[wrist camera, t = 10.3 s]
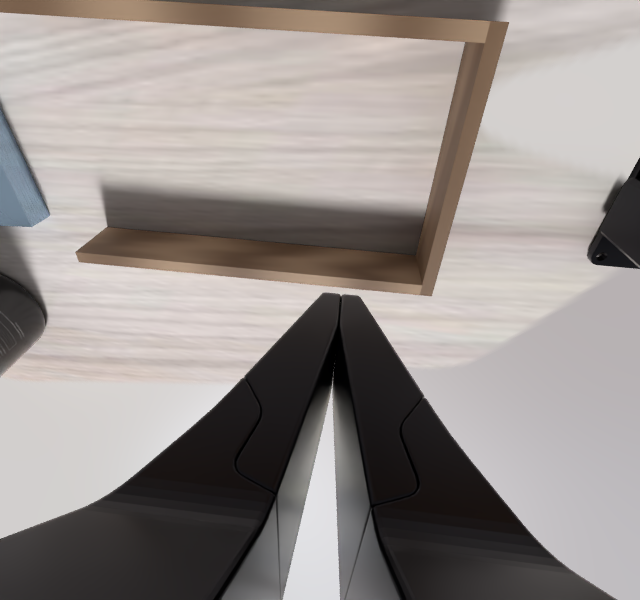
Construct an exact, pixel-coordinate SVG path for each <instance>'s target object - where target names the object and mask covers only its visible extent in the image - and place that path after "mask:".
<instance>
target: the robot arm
mask: <svg viewBox="0 0 640 600" xmlns="http://www.w3.org/2000/svg"><path fill="white" fill-rule="evenodd" d="M600 253H603V254H602V255H601V256H599V257H596V256H597V255H598V254H600ZM587 257H588V259H589V260H590V261H591V262H592V263H593V264H595V265H603V266H614V267H625V268H637V269H640V158H639V160H638V162H637V163H636V165H635V167H634V169H633V171H632V173H631V174H630V176H629V178H628V180H627V181H626V182H625V183H624V185H623V186H622V188H621V190H620V192H619V194H618V196H617V197H616V199H615V201H614V203H613V205H612V207H611V208H610V210H609V212H608V214H607V216H606V218H605V220H604V221H603V223H602V225H601V227H600V231H599V233H598V235H597V237H596V238H595V240H594V242H593V244H592V246H591V248H590V249H589V251H588V254H587ZM340 302H341V303H340ZM334 363H335V364H334ZM333 372H334V374H333ZM332 381H333V420H334V446H335V473H336V496H337V497H336V499H337V526H338V553H339V579H340V600H617V599H615V598H613V597H612V596H610V595H609V594H607V593H606V592H604V591H603V590H601V589H599V588H598V587H596V586H595V585H593V584H592V583H590V582H589V581H587V580H585V579H584V578H582V577H581V576H579V575H578V574H576V573H575V572H573V571H572V570H570V569H569V568H568V567H566V566H565V565H564V564H563V563H561V562H560V561H559V560H557V558H555V557H554V556H553V555H552V554H551V553H550V552H549V551H548V550H547V549H545V548H544V547H543V546H542V545H541V544H540V543H539V542H538V540H536V538H535V537H534V536H533V535H532V534H531V533H530V532H529V531H528V530H527V528H526V527H525V526H524V525H523V524H522V522H521V521H520V520H519V519H518V518H517V516H516V515H515V514H514V513H513V512H512V510H511V509H510V508H509V507H508V505H507V504H506V503H505V502H504V500H503V499H502V498H501V497H500V496H499V495H498V493H497V492H496V491H495V490H494V488H493V487H492V486H491V485H490V483H489V482H488V481H487V480H486V479H485V477H484V476H483V475H482V474H481V472H480V471H479V470H478V469H477V468H476V466H475V465H474V464H473V463H472V462H471V460H470V459H469V458H468V456H467V455H466V454H465V452H464V451H463V450H462V449H461V448H460V447H459V445H458V443H457V442H456V441H455V440H454V438H453V437H452V436H451V435H450V433H449V432H448V430H447V429H446V427H445V426H444V424H443V423H442V421H441V420H440V419H439V417H438V416H437V414H436V413H435V411H434V410H433V408H432V407H431V405H430V404H429V402H428V401H427V399H426V398H424V395H423V393H422V392H421V390H420V388H419V387H418V385H417V384H416V382H415V381H414V379H413V378H412V376H411V375H410V373H409V371H408V370H407V368H406V367H405V365H404V364H403V362H402V361H401V359H400V358H399V356H398V355H397V353H396V352H395V350H394V348H393V347H392V345H391V344H390V342H389V341H388V339H387V338H386V336H385V335H384V333H383V332H382V330H381V328H380V327H379V325H378V324H377V322H376V321H375V319H374V318H373V316H372V315H371V313H370V312H369V310H368V308H367V307H366V305H365V304H364V302H363V301H362V299H361V298H360V297H359V296H356V295H345V294H344V295H342V296H340V294H335V293H322V294H321V295H320V297H319V298H318V299H317V300H316V301H315V302H314V303H313V304H312V305H311V306H310V307H309V308H308V309H307V310H306V311H305V312H304V314H303V315H302V316H301V317H300V318H299V319H298V320H297V321H296V322H295V323H294V324H293V325H292V326H291V327H290V328H289V329H288V330H287V332H286V333H285V334H284V335H283V336H282V337H281V338H280V339H279V340H278V341H277V342H276V343H275V344H274V345H273V346H272V347H271V349H270V350H269V351H268V352H267V353H266V354H265V355H264V356H263V357H262V358H261V359H260V360H259V361H258V362H257V363H256V364H255V365H254V367H253V368H252V369H251V370H250V371H249V372H248V373H247V374H246V375H245V377H244V378H242V379H241V380H240V381H239V382H238V383H237V384H236V385H235V387H234V388H233V389H232V390H231V391H230V392H229V393H228V394H227V395H226V396H225V397H224V398H223V399H222V400H221V401H220V402H219V403H218V404H217V405H216V406H215V407H214V408H213V409H212V410H210V412H208V413H207V414H206V415H205V416H203V417H202V418H201V419H200V420H199V421H198V422H197V423H196V424H194V425H193V426H192V427H191V428H190V429H189V430H187V431H186V432H185V433H184V434H183V435H182V436H181V437H179V438H178V439H177V440H176V441H174V442H173V443H172V444H171V445H170V446H169V447H167V448H166V449H165V450H164V451H163V452H161V453H160V454H159V455H158V456H157V457H155V458H154V459H153V460H152V461H151V462H149V463H148V464H147V465H146V466H145V467H144V468H142V469H141V470H140V471H139V472H138V473H136V474H135V475H134V476H133V477H131V478H130V479H129V480H128V481H126V482H125V483H124V484H123V485H121V486H120V487H118V488H117V489H115V490H114V491H113V492H111V493H109V494H108V495H106V496H104V497H103V498H101V499H100V500H98V501H96V502H94V503H92V504H90V505H88V506H86V507H83V508H81V509H78V510H75V511H73V512H70V513H68V514H65V515H62V516H60V517H57V518H54V519H52V520H49V521H46V522H44V523H41V524H38V525H36V526H33V527H30V528H28V529H25V530H23V531H20V532H17V533H15V534H12V535H9V536H7V537H4V538H1V539H0V600H282V599H283V595H284V591H285V586H286V582H287V578H288V573H289V569H290V565H291V560H292V556H293V552H294V547H295V544H296V539H297V535H298V530H299V526H300V522H301V518H302V513H303V509H304V505H305V500H306V496H307V492H308V488H309V483H310V479H311V475H312V470H313V466H314V462H315V458H316V454H317V449H318V445H319V441H320V436H321V432H322V428H323V423H324V419H325V415H326V411H327V406H328V402H329V398H330V393H331V388H332Z"/></svg>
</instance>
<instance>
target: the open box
mask: <svg viewBox="0 0 640 600" xmlns="http://www.w3.org/2000/svg"><path fill="white" fill-rule="evenodd" d="M0 12H3V13H19V14H35V15H51V16H66V17H82V18H98V19H114V20H129V21H145V22H161V23H177V24H192V25H208V26H224V27H240V28H255V29H271V30H287V31H303V32H318V33H334V34H350V35H366V36H382V37H397V38H413V39H429V40H445V41H460V42H465V46H464V51H463V55H462V59H461V64H460V68H459V72H458V76H457V81H456V85H455V89H454V94H453V98H452V102H451V107H450V111H449V115H448V119H447V124H446V128H445V132H444V137H443V141H442V145H441V150H440V154H439V158H438V162H437V167H436V171H435V175H434V180H433V184H432V188H431V193H430V197H429V201H428V205H427V210H426V214H425V218H424V223H423V227H422V231H421V235H420V240H419V244H418V248H417V253H416V255H406V254H395V253H384V252H373V251H362V250H351V249H340V248H330V247H319V246H308V245H297V244H286V243H275V242H264V241H253V240H242V239H232V238H221V237H210V236H199V235H188V234H177V233H166V232H155V231H144V230H133V229H123V228H112V227H107V228H105V229H104V230H103V231H101V232H100V233H99V234H98V235H96V236H95V237H94V238H93V239H91V240H90V241H89V242H88V243H86V244H85V245H84V246H83V247H81V248H80V249H79V250H78V251H76V252H75V253H76V255H77V258H78V260H79V262H84V263H94V264H104V265H114V266H125V267H135V268H145V269H156V270H166V271H176V272H187V273H197V274H207V275H218V276H228V277H238V278H249V279H259V280H269V281H280V282H290V283H300V284H310V285H321V286H331V287H341V288H352V289H362V290H372V291H383V292H393V293H403V294H414V295H424V296H432V293H433V290H434V286H435V282H436V279H437V275H438V272H439V268H440V265H441V261H442V258H443V254H444V251H445V247H446V244H447V240H448V237H449V233H450V229H451V226H452V222H453V219H454V215H455V212H456V208H457V205H458V201H459V198H460V194H461V191H462V187H463V183H464V180H465V176H466V173H467V169H468V166H469V162H470V159H471V155H472V152H473V148H474V145H475V141H476V138H477V134H478V130H479V127H480V123H481V120H482V116H483V113H484V109H485V106H486V102H487V99H488V95H489V92H490V88H491V84H492V81H493V77H494V74H495V70H496V67H497V63H498V60H499V56H500V53H501V49H502V46H503V42H504V39H505V35H506V31H507V28H508V24H509V22H498V21H482V20H465V19H449V18H432V17H416V16H399V15H383V14H366V13H350V12H333V11H316V10H300V9H283V8H267V7H250V6H234V5H217V4H201V3H184V2H168V1H151V0H0Z"/></svg>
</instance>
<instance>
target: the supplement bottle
mask: <svg viewBox="0 0 640 600" xmlns="http://www.w3.org/2000/svg"><path fill="white" fill-rule="evenodd" d="M44 329H45V318H44V315H43V312H42V310H41V308H40V306H39V305H38V303H37V302H36V301H35V299H34V298H33V297H32V296H31V295H30V294H29V293H28V292H27V291H26V290H25V289H23V288H22V287H21V286H19V285H18V284H17V283H15V282H14V281H12V280H10V279H9V278H7V277H5V276H3V275H1V274H0V377H1V376H2V375H3V374H4V373H5V372H6V371H7V370H8V369H9V368H10V367H11V366H12V365H13V364H14V363H15V362H16V361H17V360H18V359H19V358H20V357H21V356H22V355H23V354H24V353H25V352H26V351H27V350H28V349H29V348H31V347H32V346H33V345H34V344H35V343H36V342H37V341H38V340H39V338H40V337H41V336H42V334H43V332H44Z"/></svg>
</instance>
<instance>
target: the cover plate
mask: <svg viewBox="0 0 640 600" xmlns="http://www.w3.org/2000/svg"><path fill="white" fill-rule="evenodd" d="M49 216H50V214H49V212H48V209H47V207H46V205H45V203H44V201H43V199H42V197H41V194H40V192H39V190H38V188H37V186H36V184H35V181H34V179H33V177H32V175H31V173H30V171H29V169H28V166H27V164H26V162H25V160H24V158H23V156H22V153H21V151H20V149H19V147H18V145H17V143H16V141H15V138H14V136H13V134H12V132H11V130H10V128H9V125H8V123H7V121H6V119H5V117H4V115H3V113H2V110H1V108H0V226H22V227H32V226H34V225H36V224H37V223H39V222H41V221H42V220H44V219H46V218H47V217H49Z"/></svg>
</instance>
